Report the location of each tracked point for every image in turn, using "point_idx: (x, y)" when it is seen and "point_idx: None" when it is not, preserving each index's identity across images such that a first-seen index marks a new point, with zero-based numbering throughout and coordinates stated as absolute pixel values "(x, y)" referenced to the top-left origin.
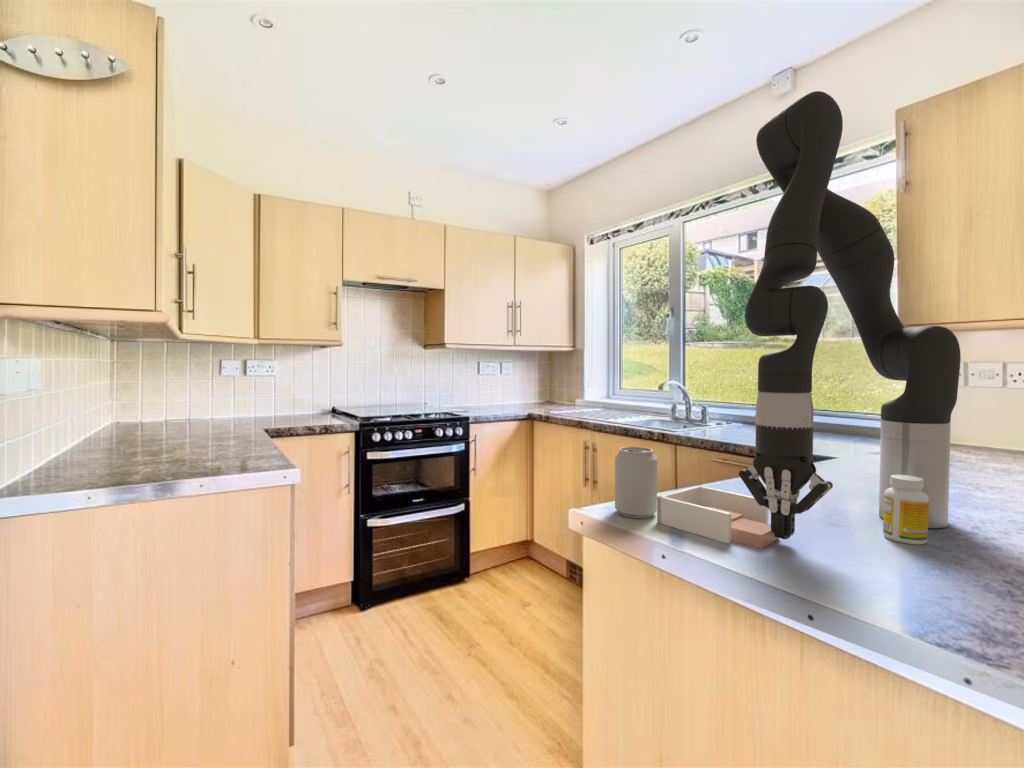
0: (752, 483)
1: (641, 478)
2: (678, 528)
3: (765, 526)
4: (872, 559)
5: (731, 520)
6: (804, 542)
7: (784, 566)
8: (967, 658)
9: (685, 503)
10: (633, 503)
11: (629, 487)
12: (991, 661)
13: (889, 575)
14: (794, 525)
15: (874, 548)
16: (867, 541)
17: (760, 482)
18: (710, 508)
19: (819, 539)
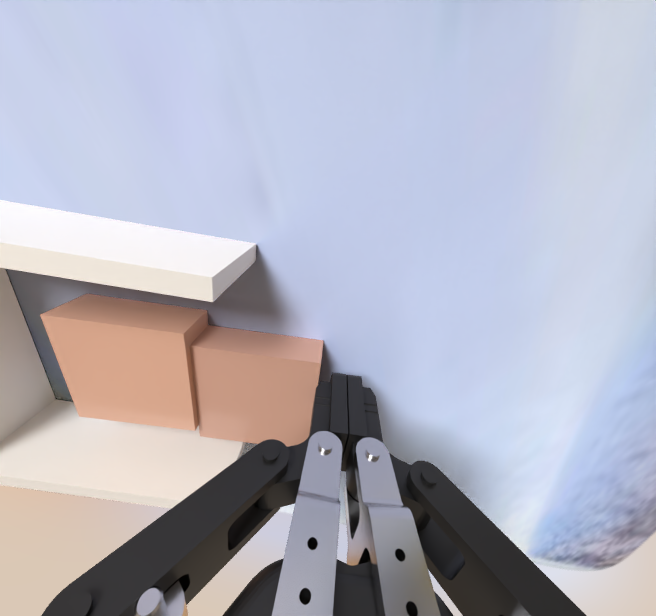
0: (194, 592)
1: None
2: None
3: (288, 382)
4: (556, 345)
5: (193, 396)
6: (388, 324)
7: None
8: (578, 566)
9: (69, 493)
10: None
11: None
12: (602, 562)
13: (567, 416)
14: (377, 413)
15: (592, 241)
16: (591, 166)
17: (199, 547)
18: (151, 499)
19: (425, 266)
